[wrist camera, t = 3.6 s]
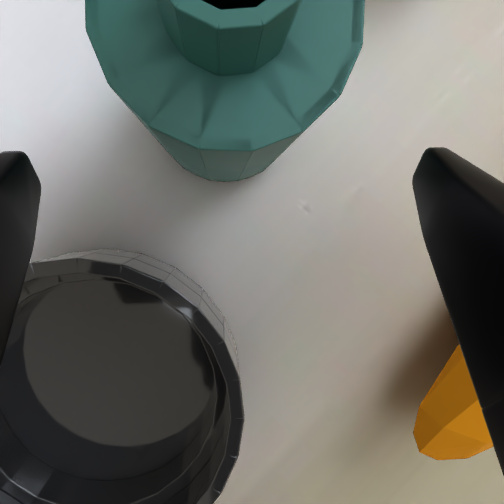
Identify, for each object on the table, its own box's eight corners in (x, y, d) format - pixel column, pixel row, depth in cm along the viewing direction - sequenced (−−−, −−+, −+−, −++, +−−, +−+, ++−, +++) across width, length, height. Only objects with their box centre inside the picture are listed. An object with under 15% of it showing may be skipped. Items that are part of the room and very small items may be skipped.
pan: (179, 527, 21) (169, 610, 17) (-62, 444, 20) (-143, 511, 16) (278, 308, 21) (294, 334, 16) (34, 206, 19) (-22, 204, 15)
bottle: (259, 203, 20) (321, 188, 8) (133, 146, 19) (-24, 28, 7) (314, 78, 20) (473, -153, 7) (188, 15, 19) (124, -362, 6)
